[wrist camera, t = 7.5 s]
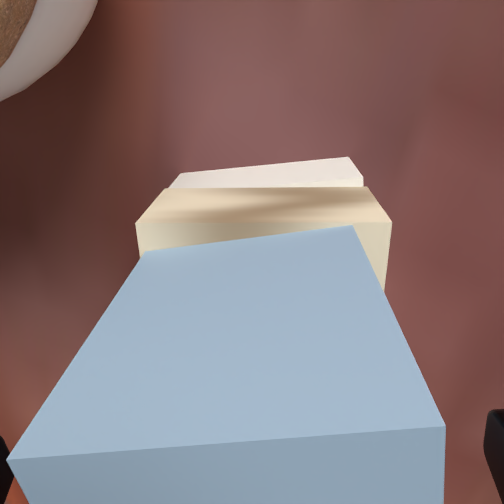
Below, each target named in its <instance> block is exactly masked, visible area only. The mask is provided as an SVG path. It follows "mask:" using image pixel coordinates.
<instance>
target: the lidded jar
mask: <svg viewBox="0 0 504 504" xmlns="http://www.w3.org/2000/svg"><path fill="white" fill-rule="evenodd" d="M97 2H98V0H0V102H1V101H3V100H5V99H7V98H9V97H11V96H13V95H15V94H17V93H19V92H21V91H23V90H25V89H26V88H27V87H29V86H30V85H31V84H33V83H34V82H35V81H37V80H38V79H39V78H41V77H42V76H43V75H45V74H46V73H47V72H48V71H50V70H51V69H52V68H54V67H55V66H56V65H57V64H58V63H59V62H60V61H61V60H62V59H63V58H64V57H65V55H66V54H67V53H68V52H69V51H70V50H71V49H72V47H73V46H74V45H75V44H76V43H77V41H78V39H79V38H80V36H81V34H82V33H83V31H84V29H85V28H86V26H87V24H88V23H89V21H90V19H91V17H92V15H93V12H94V10H95V7H96V5H97Z"/></svg>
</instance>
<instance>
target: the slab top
mask: <svg viewBox="0 0 504 504" xmlns="http://www.w3.org/2000/svg"><path fill="white" fill-rule="evenodd" d="M135 225H136V232H137V239H138V246H139V253H140V258H141V257H142V255H143V254H144V252H145V251H152V250H160V249H167V248H175V247H183V246H191V245H199V244H207V243H214V242H222V241H230V240H238V239H246V238H253V237H261V236H269V235H277V234H285V233H293V232H300V231H308V230H316V229H324V228H332V227H340V226H348V225H353V227H354V229H355V231H356V233H357V236H358V238H359V240H360V242H361V244H362V246H363V249H364V251H365V253H366V255H367V257H368V259H369V261H370V264H371V266H372V268H373V270H374V272H375V274H376V277H377V279H378V281H379V283H380V285H381V287H382V290H383V292H384V287H385V279H386V270H387V262H388V253H389V245H390V236H391V227H392V221H391V220H390V219H389V217H388V216H387V214H386V213H385V211H384V210H383V209H382V207H381V206H380V204H379V203H378V201H377V200H376V199H375V197H374V196H373V194H372V193H371V192H370V190H369V189H368V187H267V188H165V189H164V190H163V191H162V192H161V194H160V195H159V196H158V197H157V198H156V199H155V201H154V202H153V203H152V204H151V205H150V206H149V208H148V209H147V210H146V211H145V212H144V214H143V215H142V216H141V217H140V218H139V219H138V221H137V222H136V223H135Z"/></svg>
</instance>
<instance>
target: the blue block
mask: <svg viewBox="0 0 504 504" xmlns="http://www.w3.org/2000/svg"><path fill="white" fill-rule="evenodd" d="M445 434H446V426H445V423H444V421H443V419H442V417H441V415H440V413H439V410H438V408H437V406H436V404H435V402H434V400H433V397H432V395H431V393H430V391H429V389H428V387H427V385H426V382H425V380H424V378H423V376H422V374H421V372H420V369H419V367H418V365H417V363H416V361H415V359H414V356H413V354H412V352H411V350H410V348H409V346H408V344H407V341H406V339H405V337H404V335H403V333H402V331H401V328H400V326H399V324H398V322H397V320H396V318H395V315H394V313H393V311H392V309H391V307H390V305H389V303H388V300H387V298H386V296H385V294H384V292H383V290H382V287H381V285H380V283H379V281H378V279H377V277H376V274H375V272H374V270H373V268H372V266H371V264H370V261H369V259H368V257H367V255H366V253H365V251H364V249H363V246H362V244H361V242H360V240H359V238H358V236H357V233H356V231H355V229H354V227H353V225H348V226H340V227H332V228H324V229H316V230H308V231H300V232H293V233H285V234H277V235H269V236H261V237H253V238H246V239H238V240H230V241H222V242H214V243H207V244H199V245H191V246H183V247H175V248H167V249H160V250H152V251H145V252H144V254H143V255H142V257H141V258H140V260H139V261H138V263H137V264H136V266H135V267H134V269H133V270H132V272H131V273H130V275H129V276H128V278H127V279H126V281H125V282H124V284H123V285H122V287H121V288H120V290H119V291H118V293H117V294H116V296H115V297H114V299H113V300H112V302H111V303H110V305H109V306H108V308H107V309H106V311H105V312H104V314H103V315H102V317H101V318H100V320H99V321H98V323H97V324H96V326H95V327H94V329H93V330H92V332H91V333H90V335H89V336H88V338H87V339H86V341H85V342H84V344H83V345H82V347H81V348H80V350H79V351H78V353H77V354H76V356H75V357H74V359H73V360H72V362H71V363H70V365H69V366H68V368H67V369H66V371H65V372H64V374H63V375H62V377H61V378H60V380H59V381H58V383H57V384H56V386H55V387H54V389H53V390H52V392H51V393H50V395H49V396H48V398H47V399H46V401H45V402H44V404H43V405H42V407H41V408H40V410H39V411H38V413H37V414H36V416H35V417H34V419H33V420H32V422H31V423H30V425H29V426H28V428H27V429H26V431H25V432H24V434H23V435H22V437H21V438H20V440H19V441H18V443H17V444H16V446H15V447H14V449H13V450H12V452H11V453H10V455H9V456H8V458H7V459H6V461H7V462H8V464H9V466H10V468H11V470H12V472H13V474H14V475H15V477H16V479H17V481H18V483H19V485H20V487H21V488H22V490H23V492H24V494H25V496H26V498H27V500H28V501H29V503H30V504H443V499H444V466H445Z"/></svg>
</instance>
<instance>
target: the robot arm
mask: <svg viewBox="0 0 504 504" xmlns="http://www.w3.org/2000/svg"><path fill="white" fill-rule="evenodd" d="M483 447H484V454H485V457H486V460H487V463H488V466H489V469H490V471H491V474H492V477H493V479H494V482H495V485H496V487H497V490H498V493H499V496H500V498H501V501H502V504H504V409H495V410H491V411H490V412H489V413H488V416H487V422H486V429H485V436H484V444H483ZM9 455H10V452H9V450H8V448H7V446H6V444H5V441H4V439H3V438H2V437H1V436H0V504H4V502H5V500H6V497H7V494H8V492H9V489H10V486H11V484H12V481H13V478H14V474H13V472H12V470H11V468H10V466H9V464H8V462H7V461H6V459H7V458H8V456H9Z"/></svg>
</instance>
